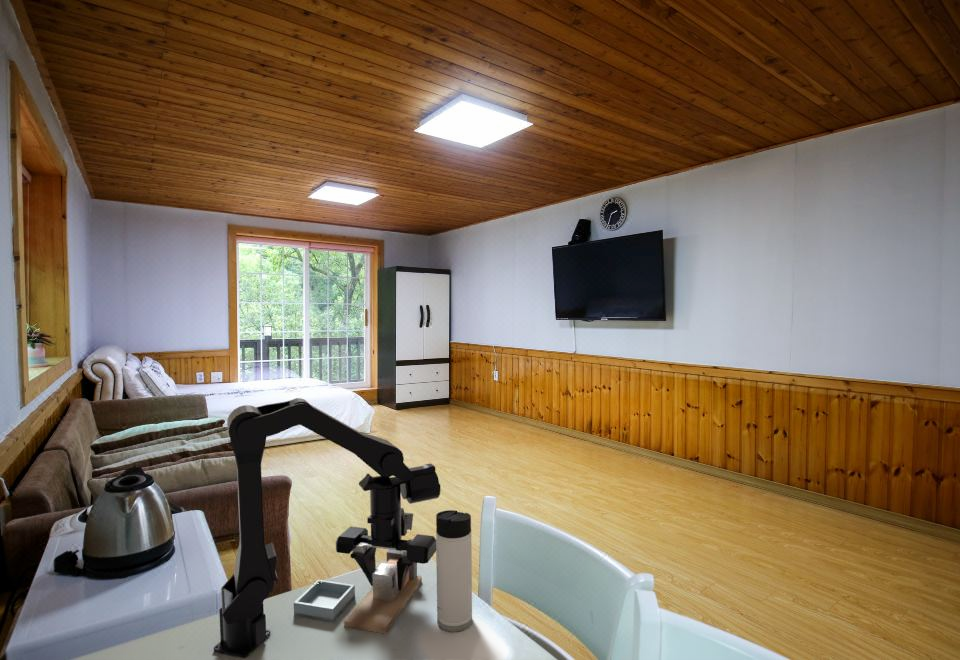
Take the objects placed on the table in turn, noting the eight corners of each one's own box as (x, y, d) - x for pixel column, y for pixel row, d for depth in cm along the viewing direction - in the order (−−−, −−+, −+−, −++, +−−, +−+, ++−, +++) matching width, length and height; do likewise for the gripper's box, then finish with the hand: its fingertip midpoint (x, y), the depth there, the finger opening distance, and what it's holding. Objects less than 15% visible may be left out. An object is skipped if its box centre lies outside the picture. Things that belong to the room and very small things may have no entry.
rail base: (344, 626, 90) (343, 593, 90) (385, 576, 107) (385, 548, 106) (385, 633, 88) (385, 600, 88) (421, 581, 105) (421, 552, 104)
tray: (294, 615, 93) (293, 602, 93) (318, 591, 101) (318, 579, 101) (333, 622, 91) (332, 609, 91) (355, 597, 99) (354, 584, 99)
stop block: (382, 587, 101) (381, 568, 100) (390, 577, 104) (390, 558, 104) (401, 590, 100) (400, 570, 99) (409, 579, 103) (408, 560, 103)
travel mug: (429, 627, 90) (427, 516, 89) (448, 607, 96) (447, 502, 95) (460, 637, 87) (459, 523, 86) (478, 616, 93) (477, 509, 92)
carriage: (373, 599, 97) (372, 573, 96) (382, 587, 101) (381, 562, 100) (392, 602, 96) (392, 576, 95) (401, 590, 100) (400, 565, 99)
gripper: (445, 496, 103) (446, 571, 103) (361, 488, 107) (363, 560, 108) (426, 519, 92) (427, 603, 93) (333, 509, 97) (335, 589, 97)
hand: (387, 587), depth 98 cm, fingers open, 5 cm apart
